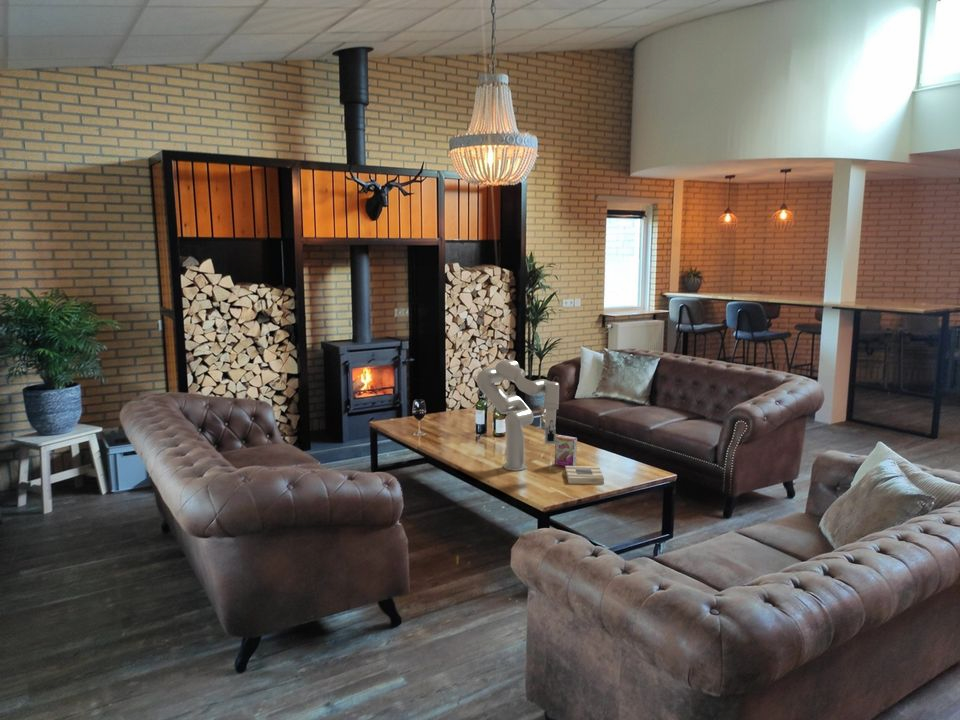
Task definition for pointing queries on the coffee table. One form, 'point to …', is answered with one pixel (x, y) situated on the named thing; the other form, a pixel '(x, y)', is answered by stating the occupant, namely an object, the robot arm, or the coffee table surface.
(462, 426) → the coffee table surface
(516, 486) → the coffee table surface
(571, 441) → the candy bar box
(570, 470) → the birch base
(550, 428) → the robot arm
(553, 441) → the slate block
